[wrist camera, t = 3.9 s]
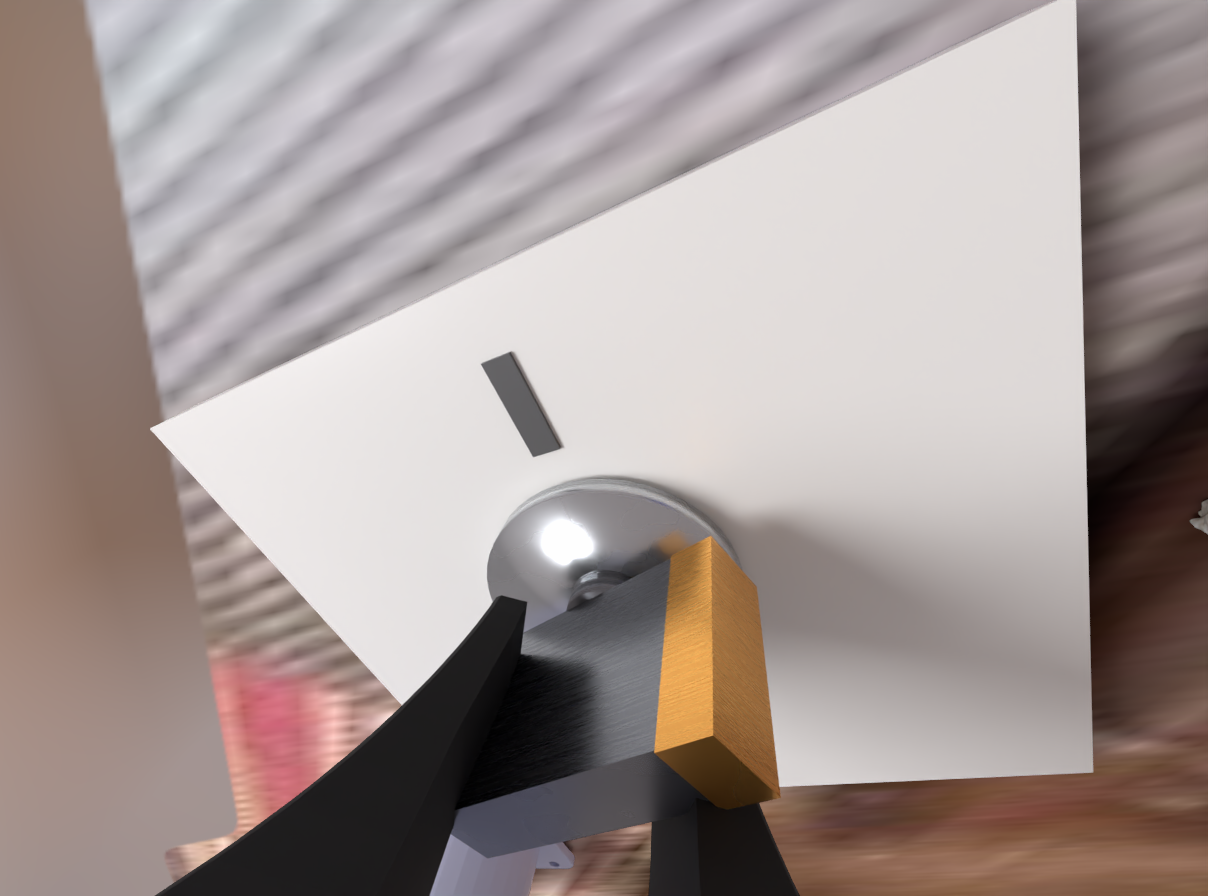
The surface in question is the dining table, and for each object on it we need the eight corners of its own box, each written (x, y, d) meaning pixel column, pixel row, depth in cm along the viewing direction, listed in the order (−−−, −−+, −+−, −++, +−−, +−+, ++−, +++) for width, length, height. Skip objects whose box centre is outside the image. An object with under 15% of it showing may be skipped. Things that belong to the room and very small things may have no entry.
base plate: (500, 762, 22) (464, 871, 19) (198, 404, 15) (51, 479, 11) (1060, 720, 15) (1158, 879, 12) (1017, 15, 8) (1237, -74, 5)
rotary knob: (603, 689, 16) (560, 915, 11) (447, 553, 14) (318, 757, 9) (807, 610, 13) (864, 875, 8) (643, 421, 11) (596, 627, 6)
